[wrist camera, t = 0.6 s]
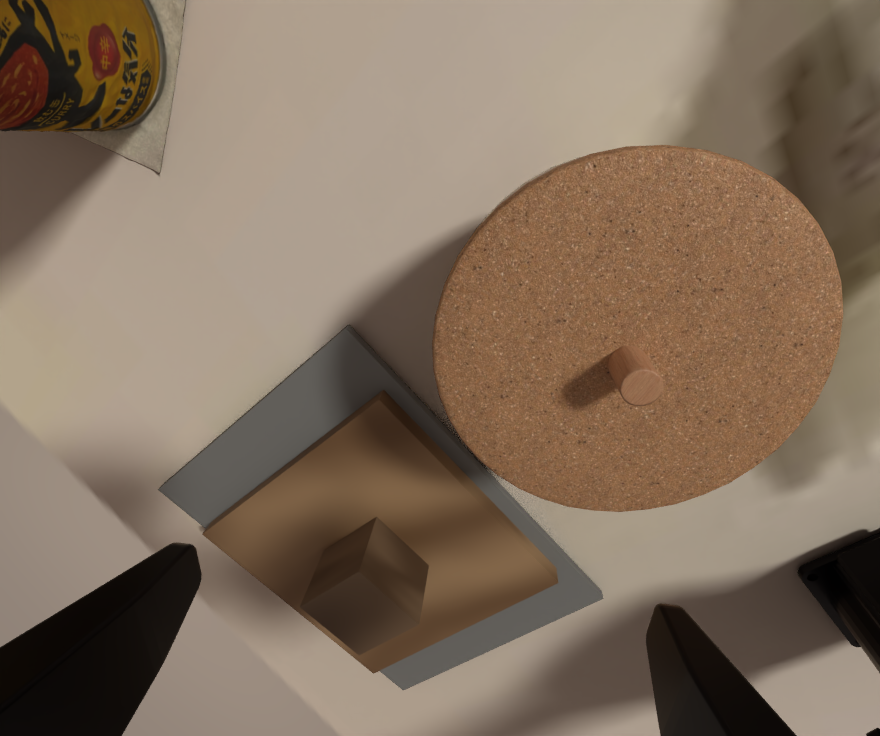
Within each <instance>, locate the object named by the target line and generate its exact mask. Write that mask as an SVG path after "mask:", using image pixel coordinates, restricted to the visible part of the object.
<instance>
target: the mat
mask: <svg viewBox="0 0 880 736" xmlns="http://www.w3.org/2000/svg"><path fill="white" fill-rule="evenodd" d="M382 390H385V391H386V392H387V393H388V394H389V395H390V396H391V398H392V399H393V400H394V401H395V402H396V403H397V404H398V405H399V406H400V407H401V408H402V409H403V410H404V411H405V412H406V413H407V414H408V415H409V416H410V417H411V418H412V419H413V420H414V421H415V422H416V423H417V424H418V425H419V426H420V427H421V429H422V430H423V431H424V432H425V433H426V434H427V435H428V436H429V437H430V438H431V439H432V440H433V441H434V442H435V443H436V444H437V445H438V446H439V447H440V448H441V449H442V450H443V451H444V452H445V453H446V454H447V455H448V456H449V457H450V458H451V460H452V461H453V462H454V463H455V464H456V465H457V466H458V467H459V468H460V469H461V470H462V471H463V472H464V473H465V474H466V475H467V476H468V477H469V478H470V479H471V480H472V481H473V482H474V483H475V484H476V485H477V486H478V487H479V488H480V489H481V490H482V492H483V493H484V494H485V495H486V496H487V497H488V498H489V499H490V500H491V501H492V502H493V503H494V504H495V505H496V506H497V507H498V508H499V509H500V510H501V511H502V512H503V513H504V514H505V515H506V516H507V517H508V518H509V519H510V520H511V521H512V523H513V524H514V525H515V526H516V527H517V528H518V529H519V530H520V531H521V532H522V533H523V534H524V535H525V536H526V537H527V538H528V539H529V540H530V541H531V542H532V543H533V544H534V545H535V546H536V547H537V548H538V549H539V550H540V551H541V552H542V554H543V555H544V556H545V557H546V558H547V559H548V560H549V561H550V562H551V563H552V564H553V565H554V566H555V567H556V569H557V576H558V583H557V584H555V585H553V586H551V587H549V588H547V589H545V590H543V591H541V592H539V593H537V594H535V595H533V596H531V597H529V598H527V599H525V600H523V601H521V602H519V603H517V604H515V605H513V606H511V607H508V608H506V609H504V610H502V611H500V612H498V613H496V614H494V615H492V616H490V617H488V618H486V619H484V620H482V621H480V622H478V623H476V624H474V625H472V626H470V627H468V628H466V629H464V630H462V631H459V632H457V633H455V634H453V635H451V636H449V637H447V638H445V639H443V640H441V641H439V642H437V643H435V644H433V645H431V646H429V647H427V648H425V649H423V650H421V651H419V652H417V653H415V654H413V655H410V656H408V657H406V658H404V659H402V660H400V661H398V662H396V663H394V664H392V665H390V666H388V667H386V668H384V669H382V670H380V672H381V673H383V674H384V675H385V676H386V677H388V678H389V679H390V680H391V681H392V682H394V683H395V684H396V685H397V686H399V687H400V688H401V689H402V690H405V689H408V688H410V687H412V686H414V685H416V684H418V683H421V682H423V681H425V680H427V679H429V678H431V677H434V676H436V675H438V674H440V673H442V672H445V671H447V670H449V669H451V668H453V667H455V666H458V665H460V664H462V663H464V662H466V661H469V660H471V659H473V658H475V657H477V656H479V655H482V654H484V653H486V652H488V651H490V650H492V649H495V648H497V647H499V646H501V645H503V644H506V643H508V642H510V641H512V640H514V639H516V638H519V637H521V636H523V635H525V634H527V633H529V632H532V631H534V630H536V629H538V628H540V627H543V626H545V625H547V624H549V623H551V622H553V621H556V620H558V619H560V618H562V617H564V616H567V615H569V614H571V613H573V612H575V611H577V610H580V609H582V608H584V607H586V606H588V605H590V604H593V603H595V602H597V601H599V600H601V599H603V595H602V591H601V590H600V589H599V588H598V587H597V586H596V585H595V584H594V583H593V582H592V580H591V579H590V578H589V577H588V576H587V575H586V574H585V573H584V572H583V571H582V570H581V569H580V568H579V567H578V566H577V565H576V564H575V563H574V561H573V560H572V559H571V558H570V557H569V556H568V555H567V554H566V553H565V552H564V551H563V550H562V549H561V548H560V547H559V546H558V545H557V544H556V543H555V541H554V540H553V539H552V538H551V537H550V536H549V535H548V534H547V533H546V532H545V531H544V530H543V529H542V528H541V527H540V526H539V525H538V524H537V522H536V521H535V520H534V519H533V518H532V517H531V516H530V515H529V514H528V513H527V512H526V511H525V510H524V509H523V508H522V507H521V506H520V505H519V504H518V502H517V501H516V500H515V499H514V498H513V497H512V496H511V495H510V494H509V493H508V492H507V491H506V490H505V489H504V488H503V487H502V486H501V485H500V483H499V482H498V481H497V480H496V479H495V478H494V477H493V476H492V475H491V474H490V473H489V472H488V471H487V470H486V469H485V468H484V467H483V466H482V464H481V463H480V462H479V461H478V460H477V459H476V458H475V457H474V456H473V455H472V454H471V453H470V452H469V451H468V450H467V449H466V448H465V447H464V446H463V444H462V443H461V442H460V441H459V440H458V439H457V438H456V437H455V436H454V435H453V434H452V433H451V432H450V431H449V430H448V429H447V428H446V427H445V425H444V424H443V423H442V422H441V421H440V420H439V419H438V418H437V417H436V416H435V415H434V414H433V413H432V412H431V411H430V410H429V409H428V408H427V407H426V405H425V404H424V403H423V402H422V401H421V400H420V399H419V398H418V397H417V396H416V395H415V394H414V393H413V392H412V391H411V390H410V389H409V388H408V386H407V385H406V384H405V383H404V382H403V381H402V380H401V379H400V378H399V377H398V376H397V375H396V374H395V373H394V372H393V371H392V370H391V369H390V368H389V366H388V365H387V364H386V363H385V362H384V361H383V360H382V359H381V358H380V357H379V356H378V355H377V354H376V353H375V352H374V351H373V350H372V349H371V347H370V346H369V345H368V344H367V343H366V342H365V341H364V340H363V339H362V338H361V337H360V336H359V335H358V334H357V333H356V332H355V331H354V330H353V329H352V327H351V326H350V325H348V326H347V327H345V328H344V329H343V330H342V331H341V332H340V333H338V334H337V335H336V336H335V337H334V338H333V339H331V340H330V341H329V342H328V343H327V344H326V345H324V346H323V347H322V348H321V349H320V350H319V351H317V352H316V353H315V354H314V355H313V356H312V357H311V358H309V359H308V360H307V361H306V362H305V363H304V364H302V365H301V366H300V367H299V368H298V369H297V370H295V371H294V372H293V373H292V374H291V375H290V376H288V377H287V378H286V379H285V380H284V381H283V382H281V383H280V384H279V385H278V386H277V387H276V388H275V389H273V390H272V391H271V392H270V393H269V394H268V395H266V396H265V397H264V398H263V399H262V400H261V401H259V402H258V403H257V404H256V405H255V406H254V407H252V408H251V409H250V410H249V411H248V412H247V413H246V414H244V415H243V416H242V417H241V418H240V419H239V420H237V421H236V422H235V423H234V424H233V425H232V426H230V427H229V428H228V429H227V430H226V431H225V432H223V433H222V434H221V435H220V436H219V437H218V438H216V439H215V440H214V441H213V442H212V443H211V444H210V445H208V446H207V447H206V448H205V449H204V450H203V451H201V452H200V453H199V454H198V455H197V456H196V457H194V458H193V459H192V460H191V461H190V462H189V463H187V464H186V465H185V466H184V467H183V468H182V469H180V470H179V471H178V472H177V473H176V474H175V475H174V476H172V477H171V478H170V479H169V480H168V481H167V482H165V483H164V484H163V485H162V486H161V487H160V488H159V489H158V490H159V491H160V492H162V493H163V494H164V495H165V496H166V497H168V498H169V499H170V500H171V501H173V502H174V503H175V504H176V505H177V506H179V507H180V508H181V509H182V510H184V511H185V512H186V513H187V514H188V515H190V516H191V517H192V518H193V519H195V520H196V521H197V522H198V523H199V524H201V525H202V526H203V527H204V528H207V527H208V526H209V524H210V523H211V522H212V521H213V520H214V519H216V518H217V517H218V516H219V515H221V514H222V513H223V512H225V511H226V510H227V509H229V508H230V507H231V506H232V505H234V504H235V503H236V502H238V501H239V500H240V499H242V498H243V497H244V496H246V495H247V494H248V493H249V492H251V491H252V490H253V489H255V488H256V487H257V486H259V485H260V484H261V483H262V482H264V481H265V480H266V479H268V478H269V477H270V476H272V475H273V474H274V473H275V472H277V471H278V470H279V469H281V468H282V467H283V466H285V465H286V464H287V463H289V462H290V461H291V460H292V459H294V458H295V457H296V456H298V455H299V454H300V453H302V452H303V451H304V450H305V449H307V448H308V447H309V446H311V445H312V444H313V443H315V442H316V441H317V440H319V439H320V438H321V437H322V436H324V435H325V434H326V433H328V432H329V431H330V430H332V429H333V428H334V427H335V426H337V425H338V424H339V423H341V422H342V421H343V420H345V419H346V418H347V417H349V416H350V415H351V414H352V413H354V412H355V411H356V410H358V409H359V408H360V407H362V406H363V405H364V404H365V403H367V402H368V401H369V400H371V399H372V398H373V397H375V396H376V395H377V394H379V393H380V392H381V391H382Z"/></svg>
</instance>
